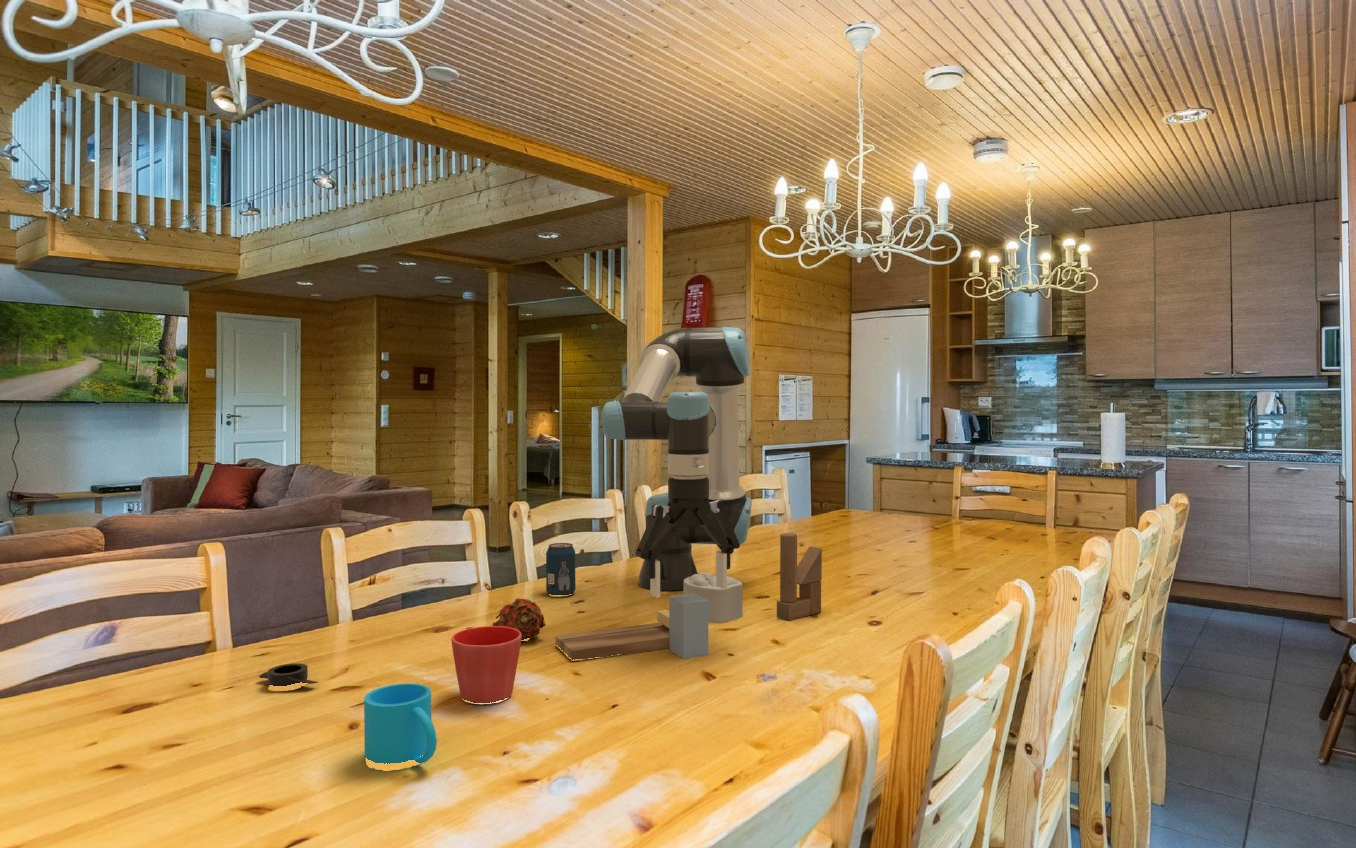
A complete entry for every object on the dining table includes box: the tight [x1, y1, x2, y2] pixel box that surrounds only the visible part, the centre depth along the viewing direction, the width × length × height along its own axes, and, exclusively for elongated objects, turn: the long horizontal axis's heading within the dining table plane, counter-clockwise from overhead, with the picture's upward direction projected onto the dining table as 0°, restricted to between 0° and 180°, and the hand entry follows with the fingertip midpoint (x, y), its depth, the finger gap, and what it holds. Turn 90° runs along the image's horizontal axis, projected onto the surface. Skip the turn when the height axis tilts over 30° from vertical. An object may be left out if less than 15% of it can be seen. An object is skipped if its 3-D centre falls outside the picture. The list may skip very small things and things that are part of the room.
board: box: [555, 622, 669, 660], centre depth 149 cm, size 10×26×2 cm, turn 116°
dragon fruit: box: [491, 597, 546, 640], centre depth 153 cm, size 8×8×12 cm
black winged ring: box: [258, 662, 319, 686], centre depth 128 cm, size 8×10×3 cm
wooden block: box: [776, 532, 823, 621], centre depth 170 cm, size 4×11×18 cm, turn 130°
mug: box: [363, 682, 438, 764], centre depth 100 cm, size 12×8×8 cm
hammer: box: [656, 593, 709, 660], centre depth 149 cm, size 15×5×10 cm, turn 26°
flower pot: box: [451, 625, 522, 703], centre depth 123 cm, size 11×11×10 cm
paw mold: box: [682, 571, 744, 624], centre depth 171 cm, size 10×13×9 cm
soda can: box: [545, 542, 576, 595], centre depth 189 cm, size 7×7×12 cm
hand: (689, 591), depth 145 cm, fingers open, 13 cm apart
